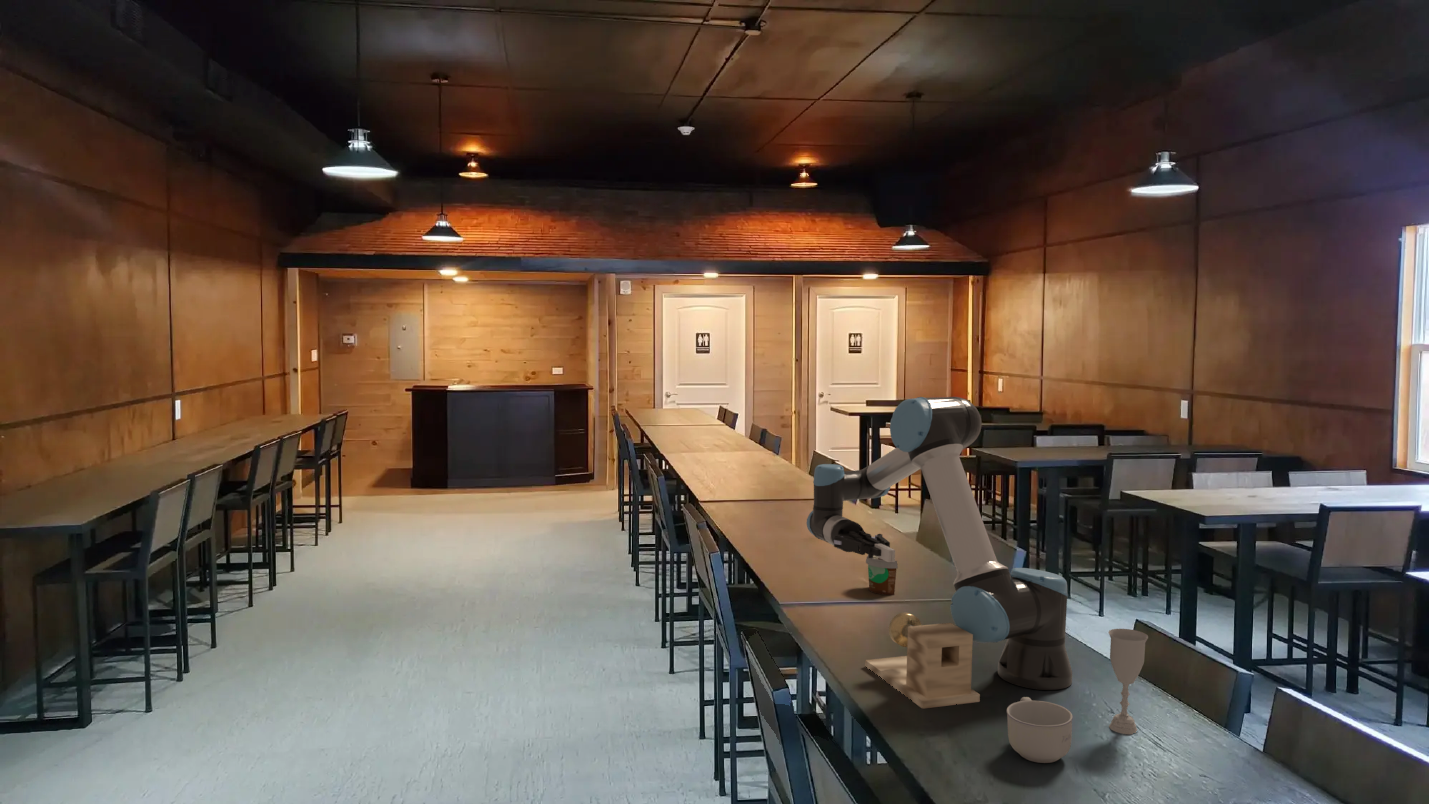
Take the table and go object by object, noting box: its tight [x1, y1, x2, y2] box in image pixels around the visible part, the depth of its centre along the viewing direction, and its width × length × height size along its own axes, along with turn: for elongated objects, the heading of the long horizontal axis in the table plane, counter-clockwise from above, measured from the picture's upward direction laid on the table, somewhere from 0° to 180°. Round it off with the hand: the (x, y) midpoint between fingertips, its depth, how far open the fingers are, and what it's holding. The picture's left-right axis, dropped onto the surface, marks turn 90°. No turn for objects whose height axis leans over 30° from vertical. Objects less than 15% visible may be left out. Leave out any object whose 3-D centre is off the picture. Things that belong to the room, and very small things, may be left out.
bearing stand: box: [864, 622, 981, 709], centre depth 195 cm, size 24×13×14 cm, turn 18°
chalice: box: [1107, 628, 1149, 735], centre depth 174 cm, size 7×7×18 cm
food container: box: [865, 555, 899, 596], centre depth 266 cm, size 12×6×10 cm, turn 17°
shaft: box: [888, 611, 922, 648], centre depth 196 cm, size 12×7×7 cm, turn 18°
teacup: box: [1006, 696, 1073, 764], centre depth 164 cm, size 14×11×8 cm
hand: (891, 556), depth 207 cm, fingers closed
